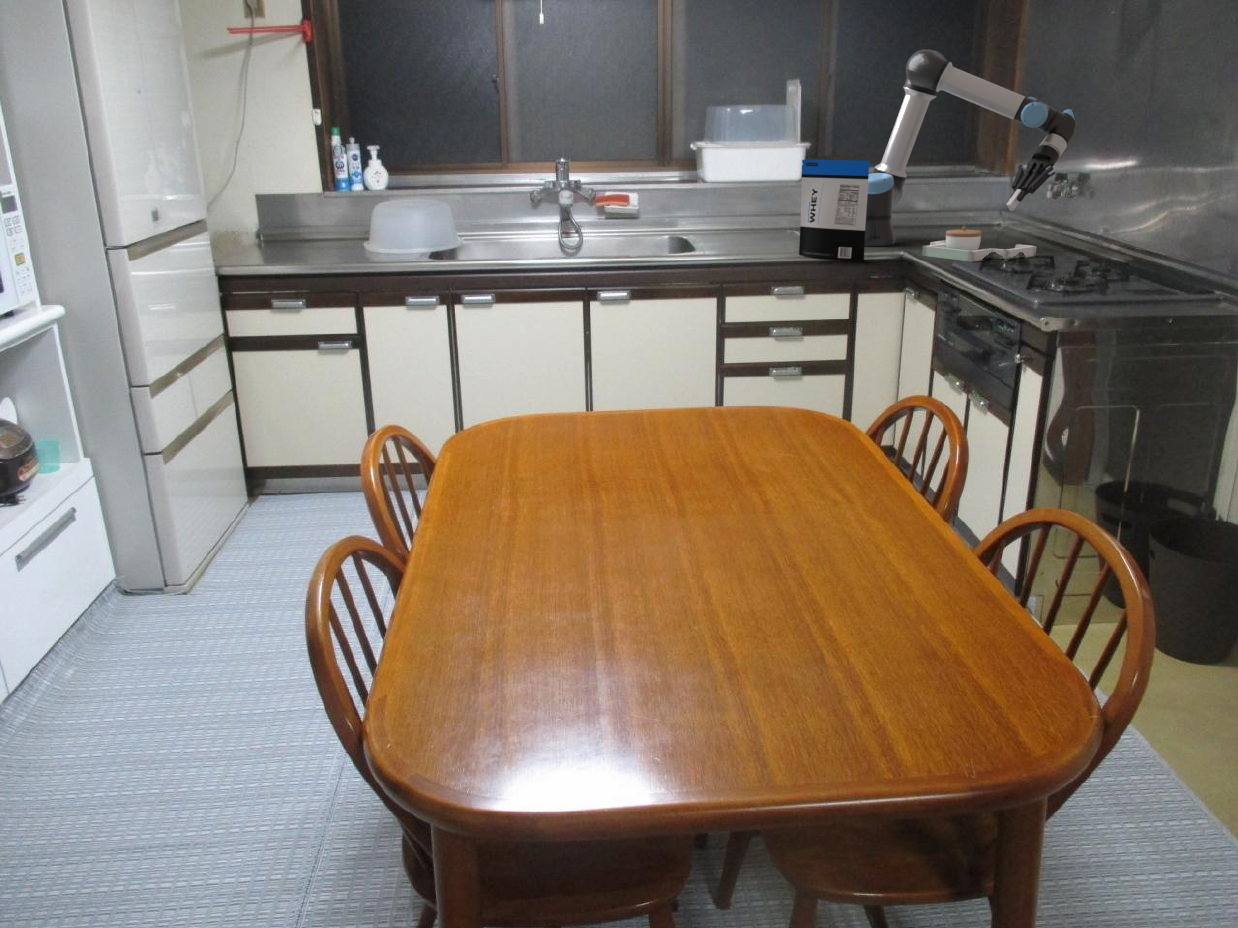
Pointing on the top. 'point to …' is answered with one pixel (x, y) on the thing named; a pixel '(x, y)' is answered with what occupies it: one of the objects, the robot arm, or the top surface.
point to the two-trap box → (973, 252)
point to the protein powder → (833, 209)
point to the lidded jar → (963, 239)
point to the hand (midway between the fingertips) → (1009, 207)
